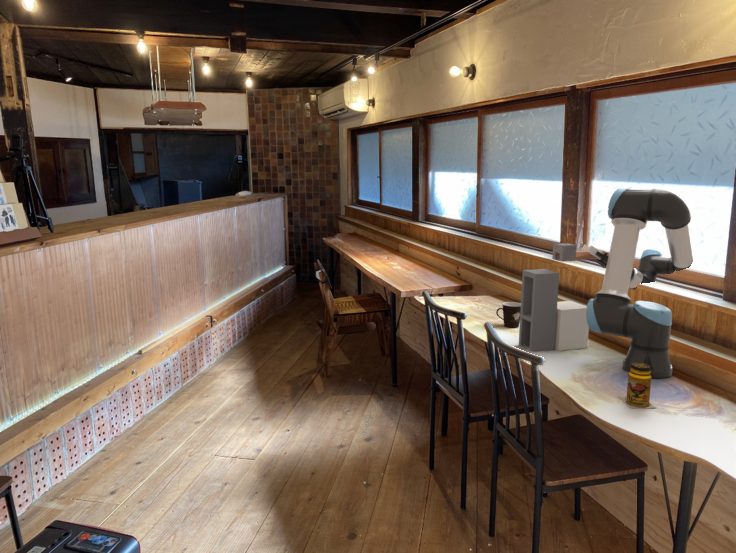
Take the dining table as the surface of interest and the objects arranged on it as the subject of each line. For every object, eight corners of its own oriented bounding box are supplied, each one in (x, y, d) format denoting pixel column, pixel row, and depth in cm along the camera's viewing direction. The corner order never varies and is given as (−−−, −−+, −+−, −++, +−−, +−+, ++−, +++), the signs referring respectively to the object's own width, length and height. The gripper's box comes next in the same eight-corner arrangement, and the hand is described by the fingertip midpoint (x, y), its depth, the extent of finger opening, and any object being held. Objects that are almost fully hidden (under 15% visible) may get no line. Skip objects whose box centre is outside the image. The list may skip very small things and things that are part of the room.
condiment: (630, 408, 157) (634, 369, 155) (617, 396, 165) (621, 359, 163) (656, 408, 157) (660, 369, 155) (641, 396, 165) (645, 359, 163)
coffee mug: (519, 323, 246) (520, 302, 244) (523, 329, 237) (524, 306, 235) (493, 323, 247) (494, 301, 245) (495, 328, 238) (496, 306, 237)
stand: (554, 349, 209) (559, 272, 204) (531, 351, 207) (535, 274, 201) (540, 342, 218) (545, 268, 212) (518, 344, 215) (522, 270, 210)
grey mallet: (606, 259, 210) (607, 243, 209) (561, 261, 205) (562, 245, 204) (596, 257, 216) (597, 242, 215) (552, 259, 211) (553, 243, 210)
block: (587, 347, 212) (590, 307, 209) (558, 350, 208) (561, 309, 205) (568, 338, 223) (570, 300, 220) (540, 341, 220) (542, 302, 217)
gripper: (637, 287, 211) (595, 259, 203) (608, 279, 226) (568, 253, 218) (647, 270, 210) (605, 242, 203) (617, 263, 226) (577, 237, 218)
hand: (586, 248), depth 211 cm, fingers closed on grey mallet, 3 cm apart
